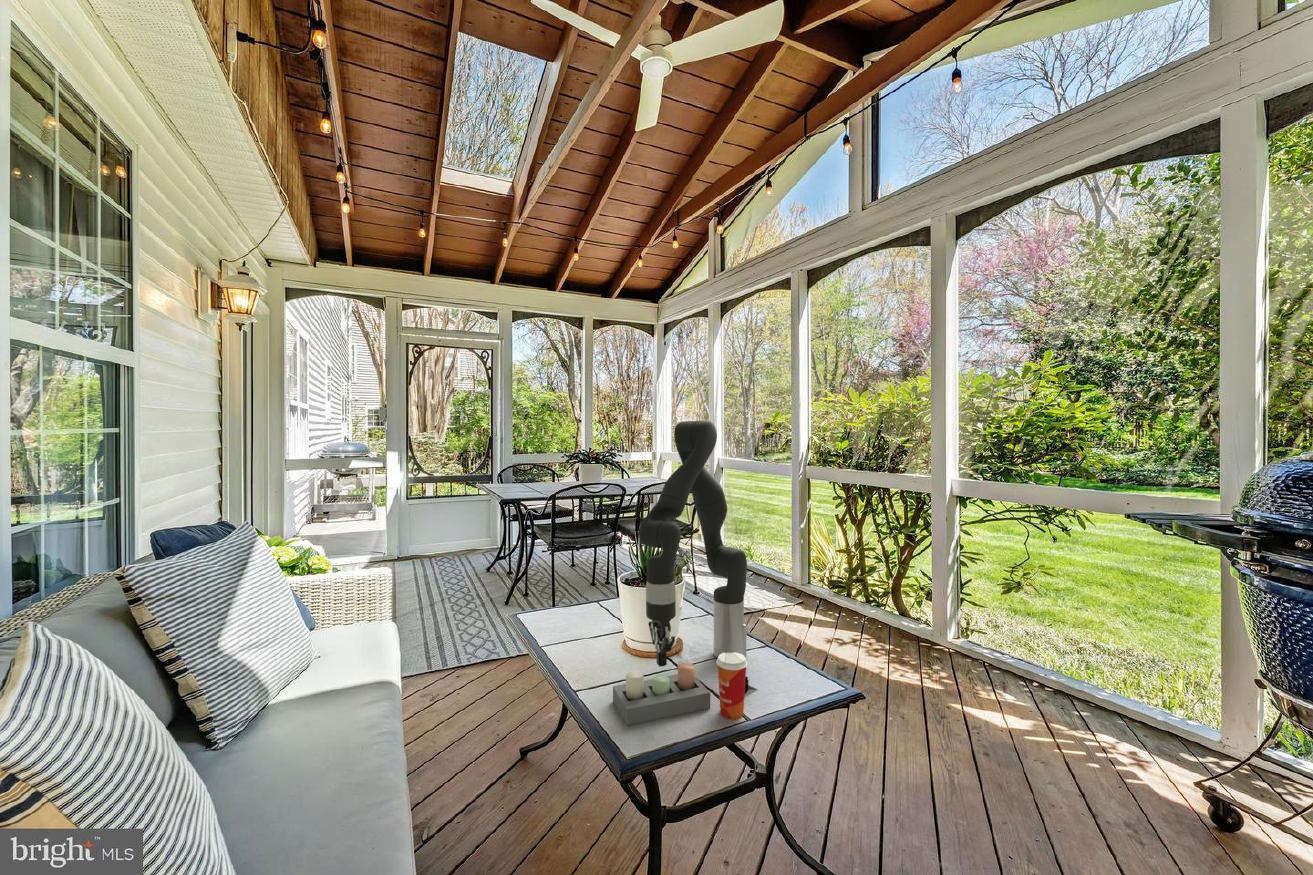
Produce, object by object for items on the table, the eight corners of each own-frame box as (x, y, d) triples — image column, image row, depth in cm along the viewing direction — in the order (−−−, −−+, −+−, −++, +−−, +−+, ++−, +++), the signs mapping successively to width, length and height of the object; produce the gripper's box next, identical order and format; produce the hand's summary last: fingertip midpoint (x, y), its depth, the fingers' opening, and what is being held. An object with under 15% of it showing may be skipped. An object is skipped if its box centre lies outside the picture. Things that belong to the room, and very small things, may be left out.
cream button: (640, 689, 142) (640, 670, 142) (646, 697, 138) (645, 677, 138) (623, 692, 141) (623, 673, 141) (629, 700, 137) (629, 680, 137)
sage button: (665, 693, 145) (665, 674, 145) (672, 701, 141) (672, 681, 141) (649, 696, 143) (649, 677, 143) (655, 704, 139) (655, 684, 139)
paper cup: (713, 705, 142) (713, 651, 141) (743, 704, 142) (743, 650, 142) (719, 722, 134) (719, 665, 133) (751, 720, 135) (751, 664, 134)
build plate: (734, 708, 142) (734, 690, 142) (713, 697, 147) (713, 680, 147) (764, 690, 150) (764, 673, 150) (742, 681, 156) (742, 665, 155)
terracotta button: (690, 679, 147) (690, 661, 147) (697, 687, 143) (697, 668, 143) (675, 682, 146) (674, 664, 146) (681, 690, 142) (681, 671, 141)
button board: (690, 686, 152) (690, 671, 152) (710, 708, 140) (710, 692, 140) (613, 701, 144) (612, 686, 144) (626, 725, 133) (626, 709, 133)
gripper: (684, 604, 136) (685, 673, 137) (664, 588, 148) (665, 651, 149) (656, 608, 133) (657, 679, 134) (638, 592, 146) (639, 656, 147)
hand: (661, 664), depth 142 cm, fingers closed
